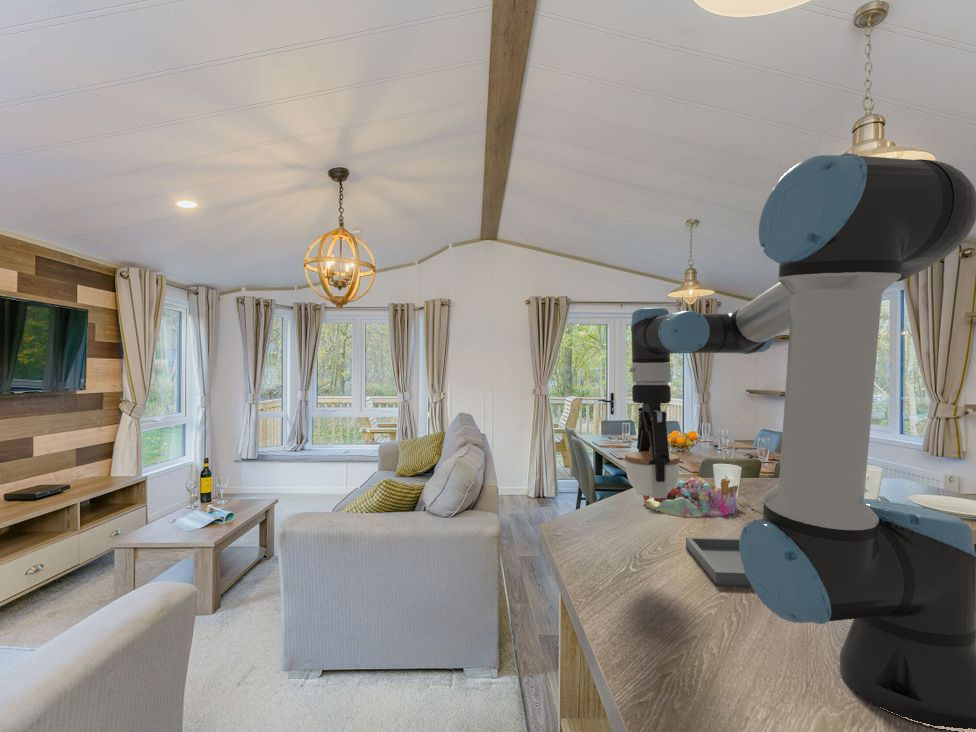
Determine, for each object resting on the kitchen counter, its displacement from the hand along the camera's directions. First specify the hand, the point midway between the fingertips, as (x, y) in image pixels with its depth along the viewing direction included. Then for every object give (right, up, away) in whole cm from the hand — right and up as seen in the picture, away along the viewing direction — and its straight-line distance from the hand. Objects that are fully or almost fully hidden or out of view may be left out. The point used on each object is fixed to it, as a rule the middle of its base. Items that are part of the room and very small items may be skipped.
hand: (652, 490), depth 104 cm
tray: (+20, -16, 0) cm, 25 cm away
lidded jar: (0, -1, 0) cm, 1 cm away
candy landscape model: (+26, -16, +45) cm, 55 cm away
